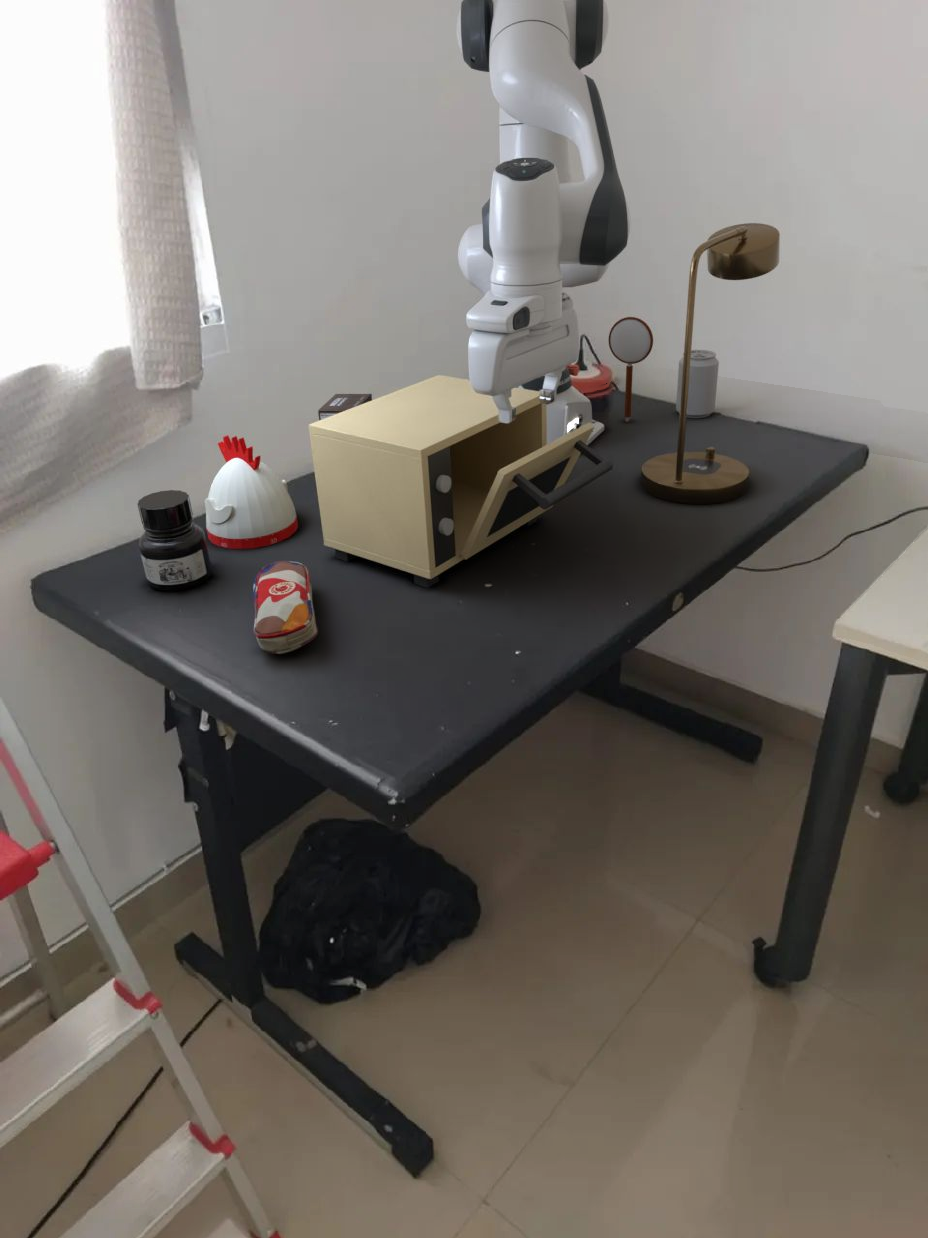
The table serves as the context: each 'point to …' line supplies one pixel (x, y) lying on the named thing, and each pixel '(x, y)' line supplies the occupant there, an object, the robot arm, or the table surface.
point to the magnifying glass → (630, 349)
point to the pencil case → (283, 607)
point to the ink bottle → (172, 542)
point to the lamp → (689, 472)
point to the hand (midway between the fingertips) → (528, 411)
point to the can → (699, 383)
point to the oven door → (533, 487)
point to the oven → (417, 471)
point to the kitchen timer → (247, 501)
